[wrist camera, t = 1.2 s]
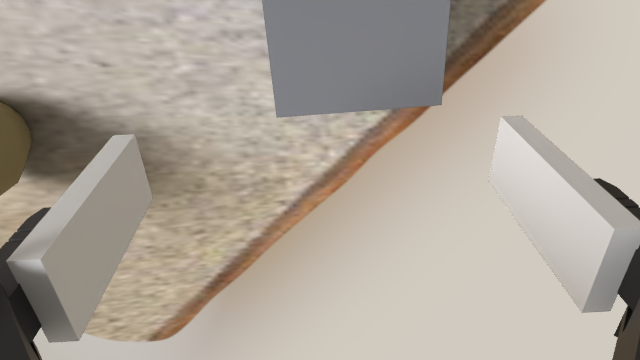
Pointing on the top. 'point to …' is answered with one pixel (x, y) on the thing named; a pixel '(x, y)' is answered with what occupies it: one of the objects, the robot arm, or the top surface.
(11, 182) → the squeeze bottle
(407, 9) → the grey cubic block
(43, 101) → the top surface
